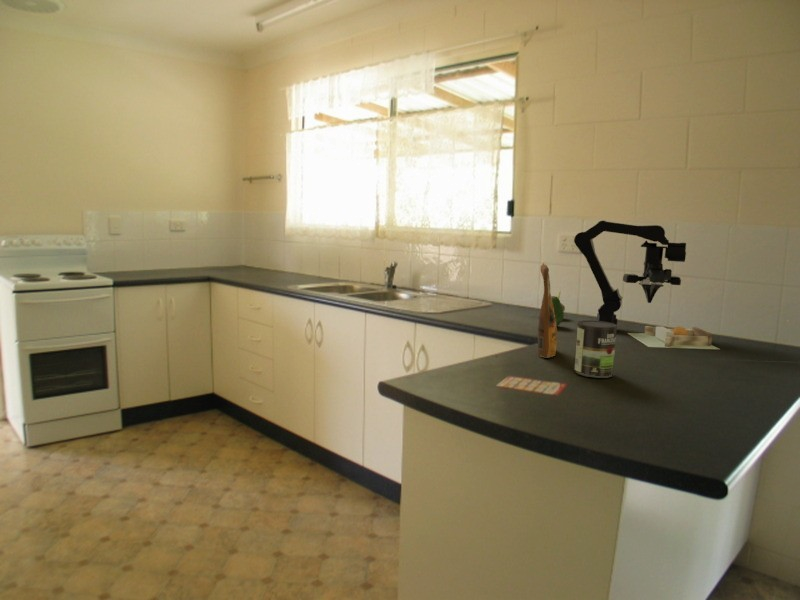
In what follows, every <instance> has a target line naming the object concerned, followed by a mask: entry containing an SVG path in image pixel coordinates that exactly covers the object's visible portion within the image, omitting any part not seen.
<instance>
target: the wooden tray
mask: <svg viewBox="0 0 800 600" xmlns="http://www.w3.org/2000/svg"><path fill="white" fill-rule="evenodd" d="M668 329H669V330H671V331H673V329H674V328H668ZM685 329H686V328H685ZM686 330H687V333H688V335H687V336H684V335H673V336H669V337H666V338H665V347H670V346H673V345H700V346H711V345H712V340H713V338H712V337H713V334H712V333H711V332H708V331H706V330H703V329H701V328H699V327H697V326H692V328H691V329H690V328H689V329H686ZM643 334H645V335H650V336H655V334H656V326H655V327H654V326H648V325H645V326H644V333H643Z"/></svg>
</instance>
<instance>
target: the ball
mask: <svg viewBox="0 0 800 600" xmlns="http://www.w3.org/2000/svg"><path fill="white" fill-rule="evenodd" d="M672 329H673V332H674V334H673V335H684V336H687V335H688V333H687V330H686V328H685V327H683V326H675V328H672Z"/></svg>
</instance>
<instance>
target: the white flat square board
mask: <svg viewBox="0 0 800 600" xmlns="http://www.w3.org/2000/svg"><path fill="white" fill-rule="evenodd" d="M627 335H629V336H631V337H632V338H634V339H635V340H637V341H639V342H640V343H642V344H644V345H645V346H646V347H648V348H664V349H665V348H667V349H669V348H670V349H696V350H698V349H699V350H720V348H718V347H717V346H714V345H712V344H711V346H700V345H673V346H670V347H665V342H664V341H662V340H660V339H658V338H657V337H655V336H650V335H645V334H644V333H643V332H642V333H640V332H638V333H637V332H627Z"/></svg>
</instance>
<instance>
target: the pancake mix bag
mask: <svg viewBox="0 0 800 600" xmlns="http://www.w3.org/2000/svg"><path fill="white" fill-rule="evenodd" d="M549 270H550V269H549V267H548V265H546V264H545V263H544V262H543V263H542V264H541V265H540V273H541V276H542V278H543V296H542V301H541V306H540V312H539V317H538V326H537V327H538V328H537V351H538V356H539V355H542V356H544V357H548V356H556V353H557V348H558V347H557V346H558V328H557V327H558V326H556V319H555V314H554V308H553V303H552V298H551V296H552V295H551V294H552V293H551V279H550V273H549Z"/></svg>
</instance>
